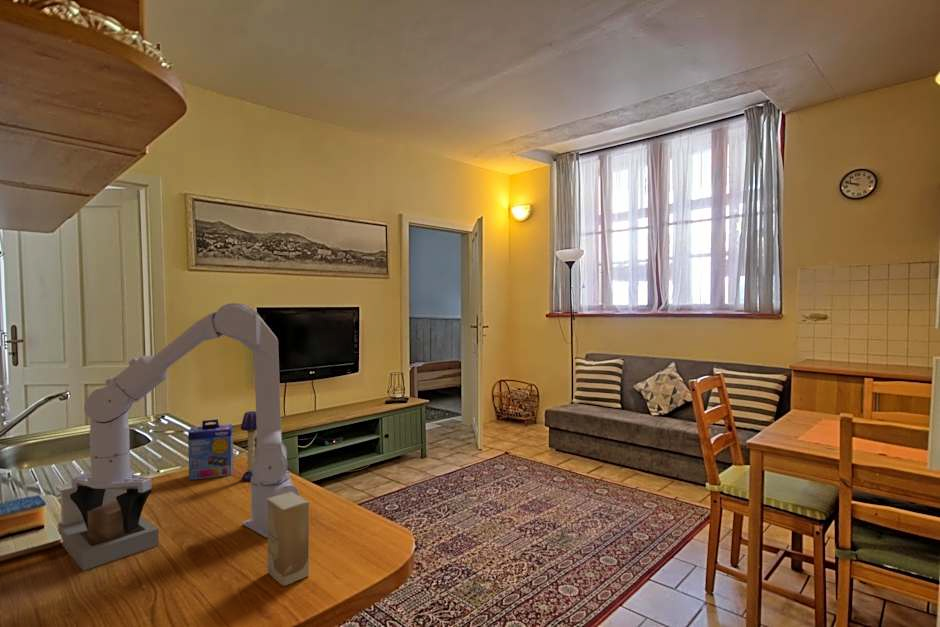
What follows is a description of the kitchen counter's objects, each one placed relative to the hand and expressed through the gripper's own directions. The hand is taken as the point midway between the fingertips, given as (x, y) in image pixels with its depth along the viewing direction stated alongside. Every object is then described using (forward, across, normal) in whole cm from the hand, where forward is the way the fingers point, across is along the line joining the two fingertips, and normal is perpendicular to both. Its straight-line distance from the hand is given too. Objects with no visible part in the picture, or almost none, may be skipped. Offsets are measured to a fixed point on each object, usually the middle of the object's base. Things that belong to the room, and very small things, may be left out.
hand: (112, 529), depth 90 cm
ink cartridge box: (+4, +8, -37) cm, 38 cm away
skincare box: (+4, -36, +4) cm, 36 cm away
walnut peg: (+3, 0, 0) cm, 3 cm away
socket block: (+3, +3, -2) cm, 5 cm away
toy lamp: (+4, -4, -36) cm, 36 cm away
